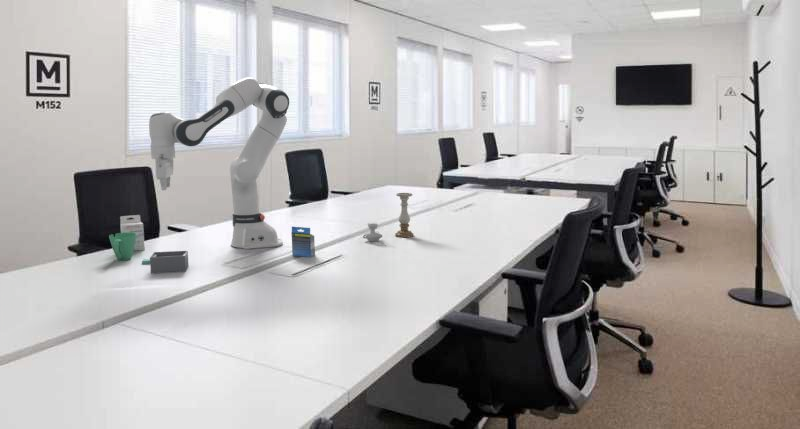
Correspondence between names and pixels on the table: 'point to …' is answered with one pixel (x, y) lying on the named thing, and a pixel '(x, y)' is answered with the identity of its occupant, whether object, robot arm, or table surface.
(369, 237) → the grey oil lamp
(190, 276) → the table surface
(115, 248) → the mug
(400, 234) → the candle holder
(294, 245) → the label tape box
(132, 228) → the ink box
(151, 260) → the tub
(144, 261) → the lid
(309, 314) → the table surface
